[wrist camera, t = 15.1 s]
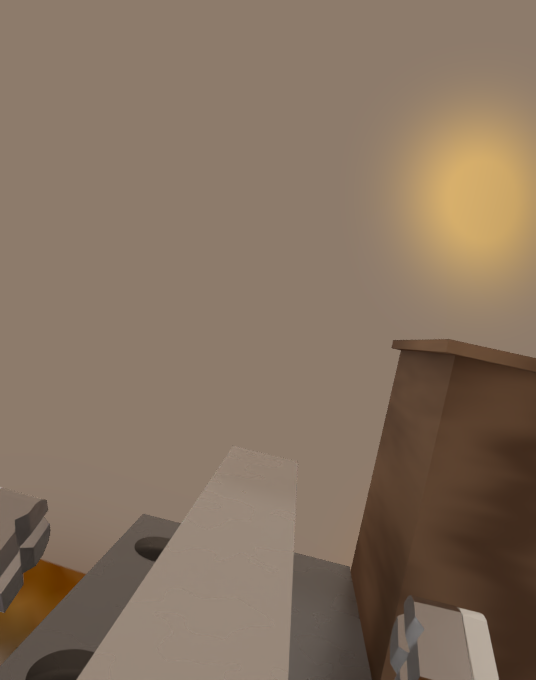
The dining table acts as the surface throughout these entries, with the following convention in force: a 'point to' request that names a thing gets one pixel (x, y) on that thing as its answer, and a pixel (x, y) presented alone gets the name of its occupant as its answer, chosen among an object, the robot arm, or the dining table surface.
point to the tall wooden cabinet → (454, 500)
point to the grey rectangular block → (215, 585)
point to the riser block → (128, 573)
